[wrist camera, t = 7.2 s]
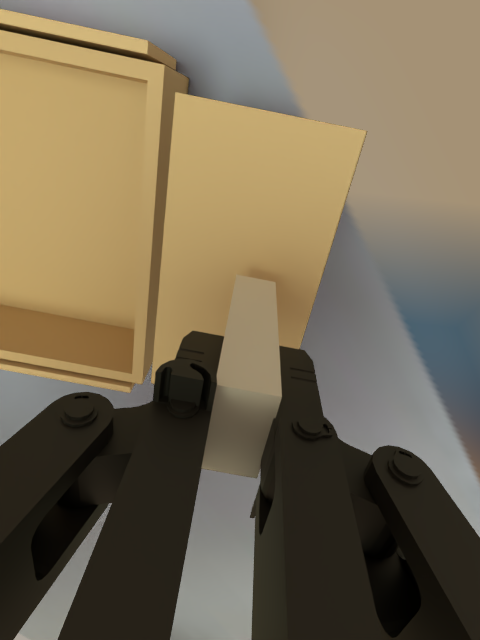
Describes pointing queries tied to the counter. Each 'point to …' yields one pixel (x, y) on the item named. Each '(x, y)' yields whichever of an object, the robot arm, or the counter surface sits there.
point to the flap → (247, 214)
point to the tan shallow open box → (82, 199)
